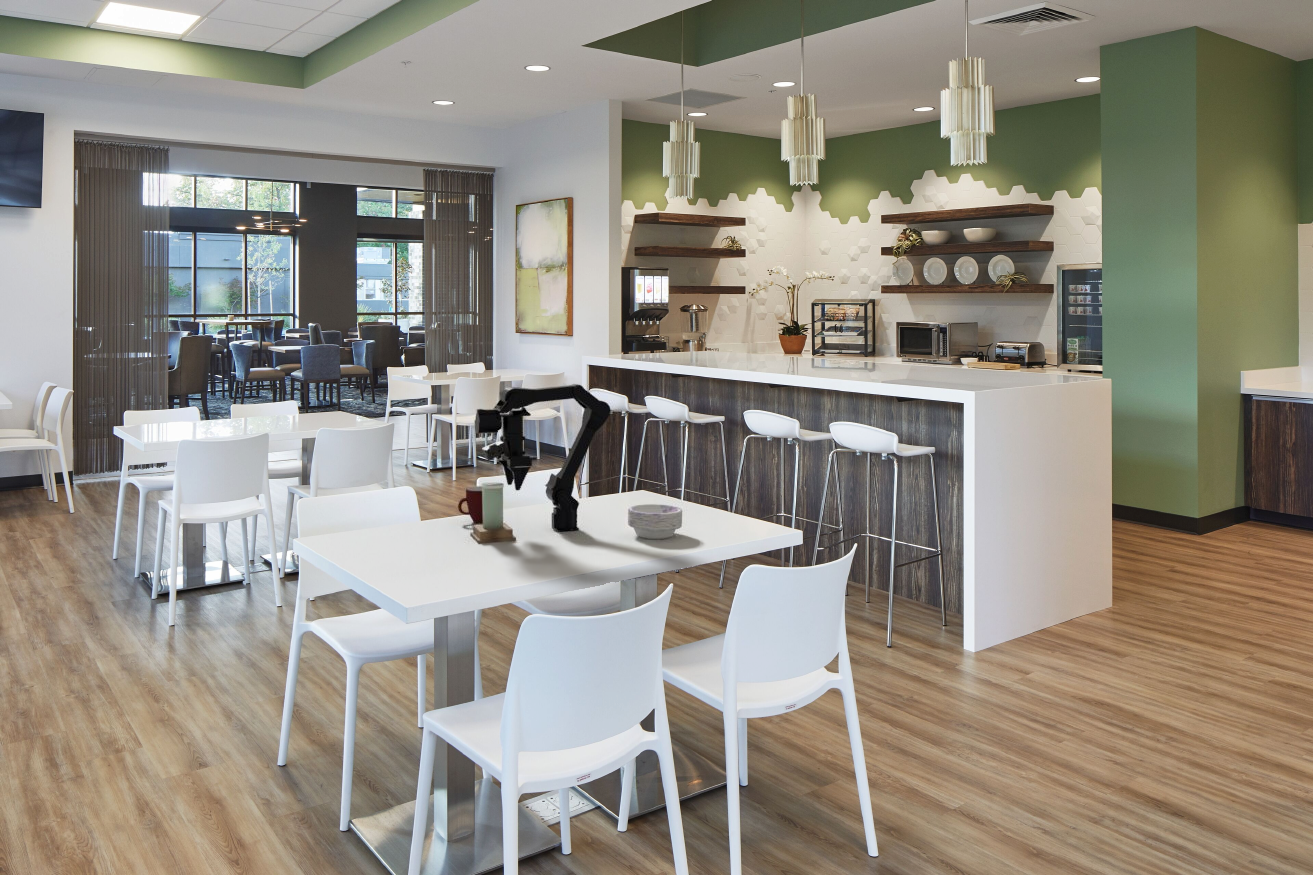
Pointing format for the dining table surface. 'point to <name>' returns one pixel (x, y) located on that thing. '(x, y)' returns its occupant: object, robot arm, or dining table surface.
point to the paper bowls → (654, 520)
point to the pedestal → (492, 534)
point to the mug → (473, 504)
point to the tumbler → (492, 505)
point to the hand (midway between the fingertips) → (513, 487)
